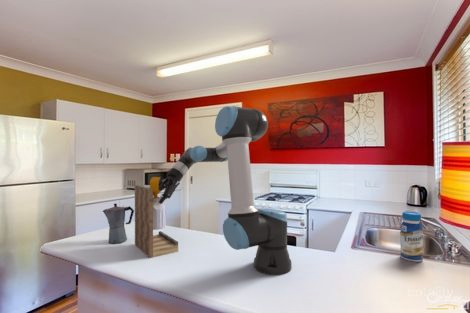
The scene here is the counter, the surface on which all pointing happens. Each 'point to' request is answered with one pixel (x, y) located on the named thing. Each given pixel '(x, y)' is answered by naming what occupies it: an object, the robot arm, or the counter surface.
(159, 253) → the cleat shelf
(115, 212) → the moka pot
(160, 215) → the soap bottle
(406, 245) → the beverage bottle
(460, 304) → the counter surface
